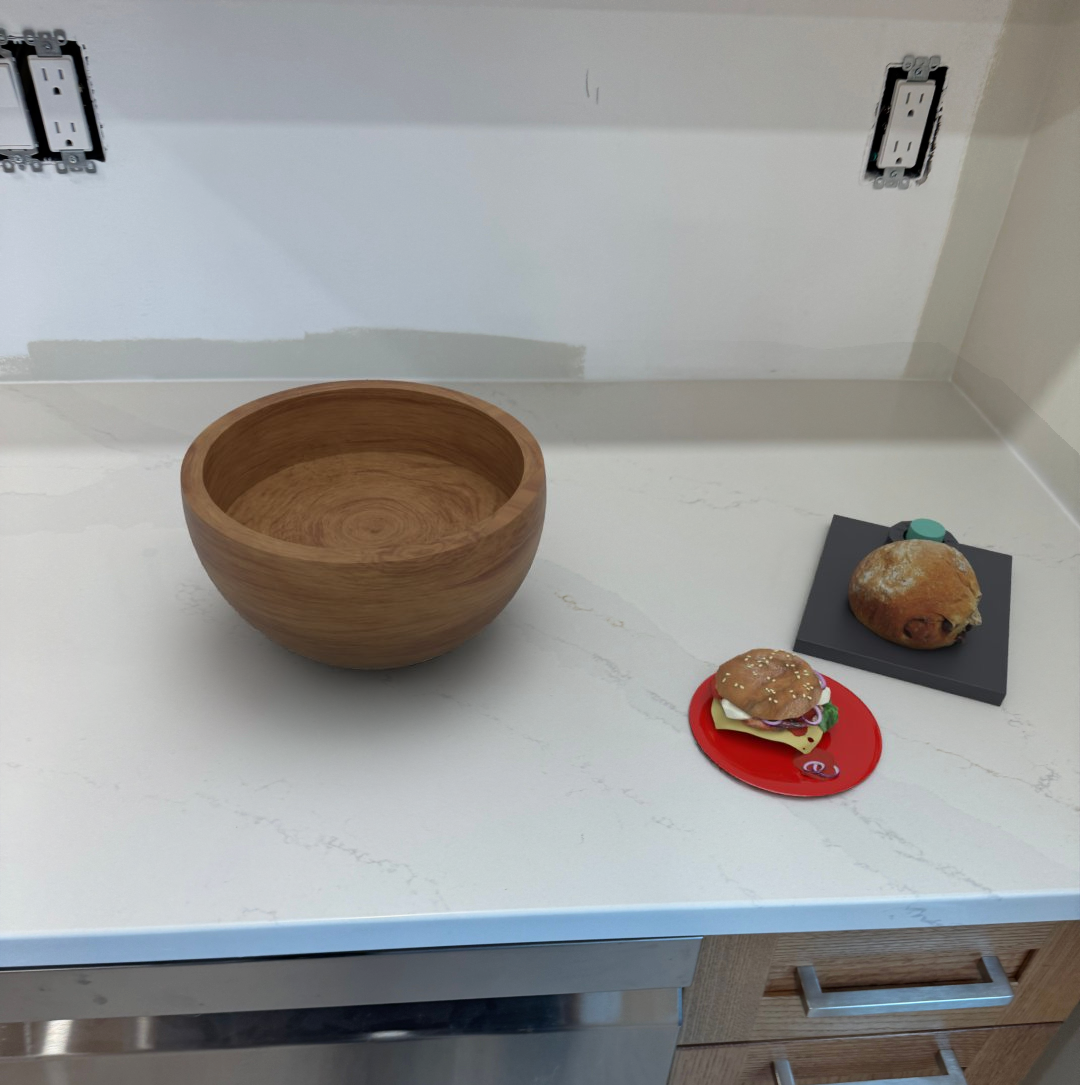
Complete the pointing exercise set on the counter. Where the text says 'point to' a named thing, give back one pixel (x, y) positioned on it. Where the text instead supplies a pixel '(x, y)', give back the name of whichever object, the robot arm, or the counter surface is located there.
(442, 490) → the bowl
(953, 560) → the bread roll
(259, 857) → the counter surface
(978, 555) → the scale
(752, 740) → the hamburger
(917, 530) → the button
